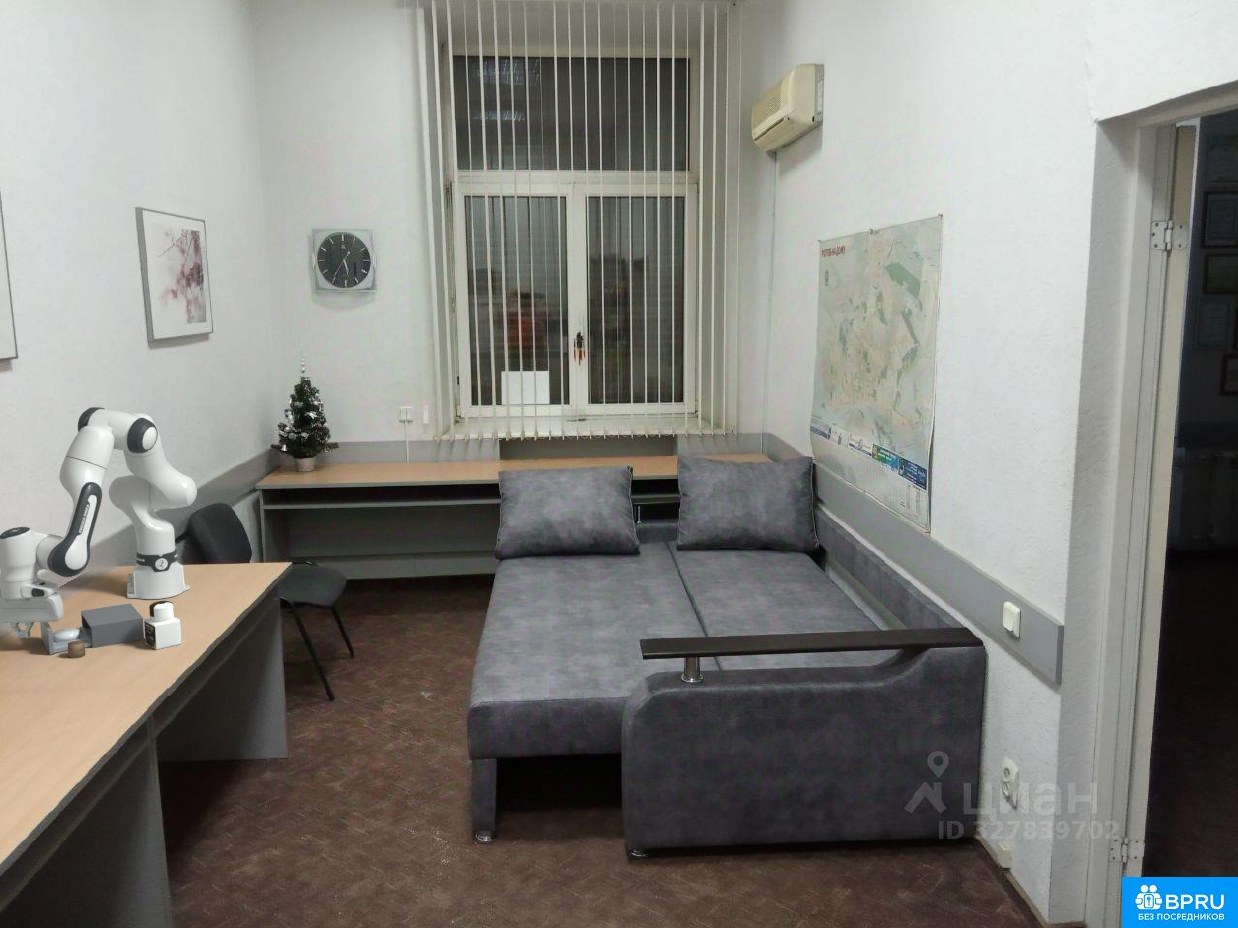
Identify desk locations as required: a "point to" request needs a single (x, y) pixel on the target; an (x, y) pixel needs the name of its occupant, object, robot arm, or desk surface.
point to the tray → (62, 646)
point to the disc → (66, 635)
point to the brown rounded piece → (76, 649)
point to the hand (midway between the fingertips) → (23, 637)
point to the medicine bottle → (162, 626)
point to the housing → (113, 624)
